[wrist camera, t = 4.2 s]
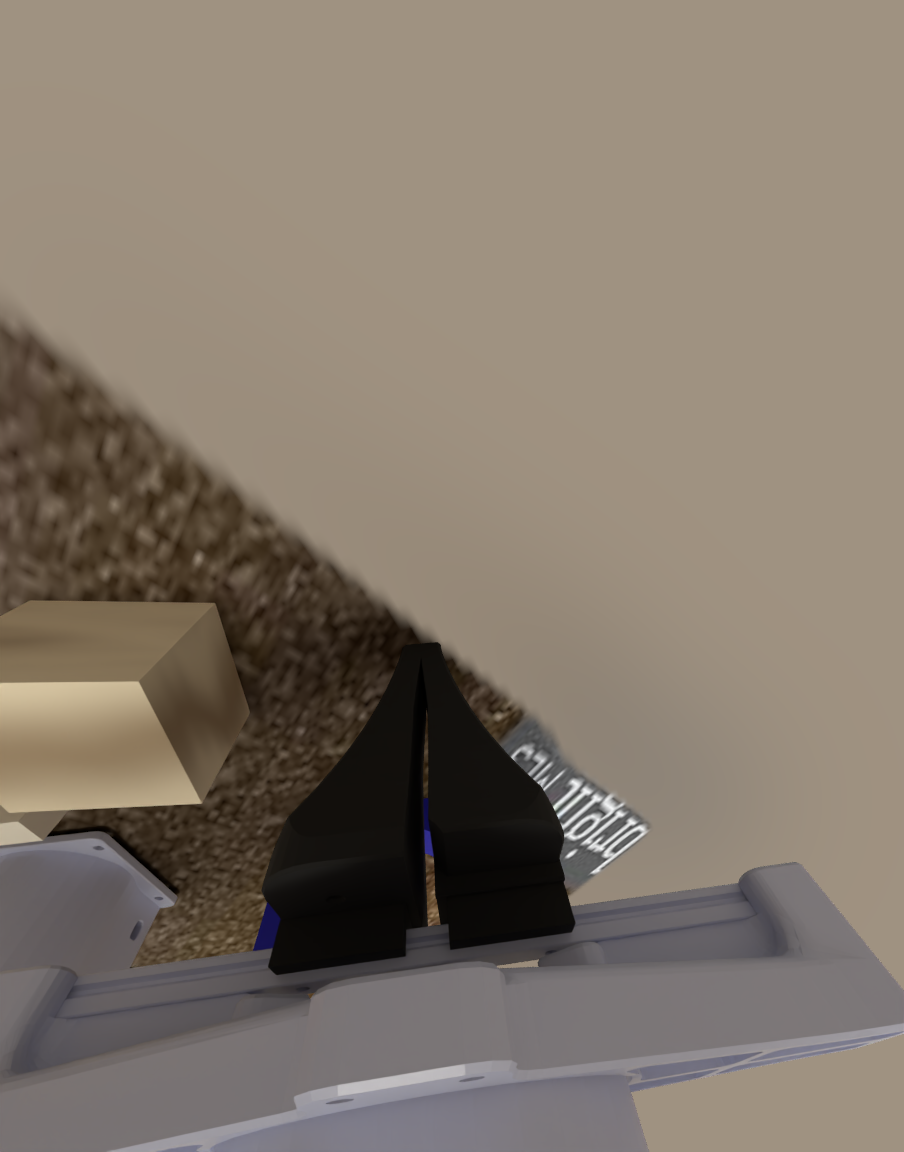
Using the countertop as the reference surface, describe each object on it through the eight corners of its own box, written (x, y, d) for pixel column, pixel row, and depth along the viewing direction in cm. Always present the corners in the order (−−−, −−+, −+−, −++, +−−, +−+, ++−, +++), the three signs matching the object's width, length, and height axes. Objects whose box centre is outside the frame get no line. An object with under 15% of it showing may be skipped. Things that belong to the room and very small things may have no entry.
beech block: (251, 709, 15) (201, 803, 12) (107, 712, 15) (8, 812, 11) (217, 600, 12) (138, 681, 9) (35, 597, 12) (-127, 683, 8)
